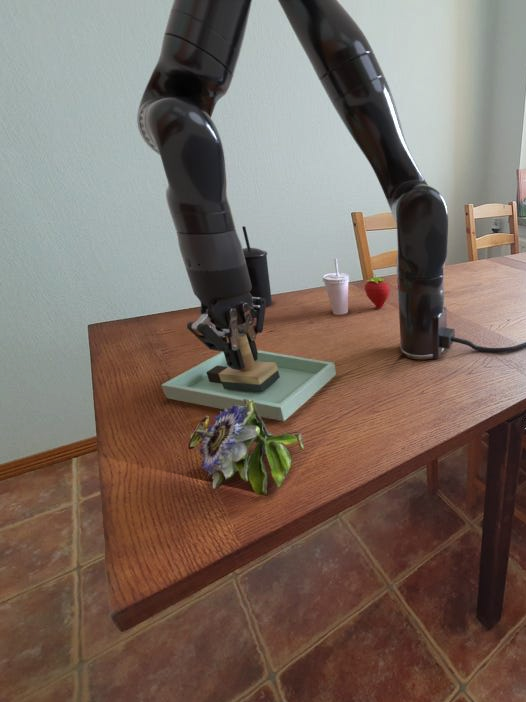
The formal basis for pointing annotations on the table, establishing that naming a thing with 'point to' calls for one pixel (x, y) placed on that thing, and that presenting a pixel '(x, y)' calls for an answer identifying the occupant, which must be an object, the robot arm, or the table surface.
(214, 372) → the crumb
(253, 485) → the passion flower
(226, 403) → the tray
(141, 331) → the table surface
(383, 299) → the strawberry
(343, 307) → the smoothie
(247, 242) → the drinking cup
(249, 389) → the brush
